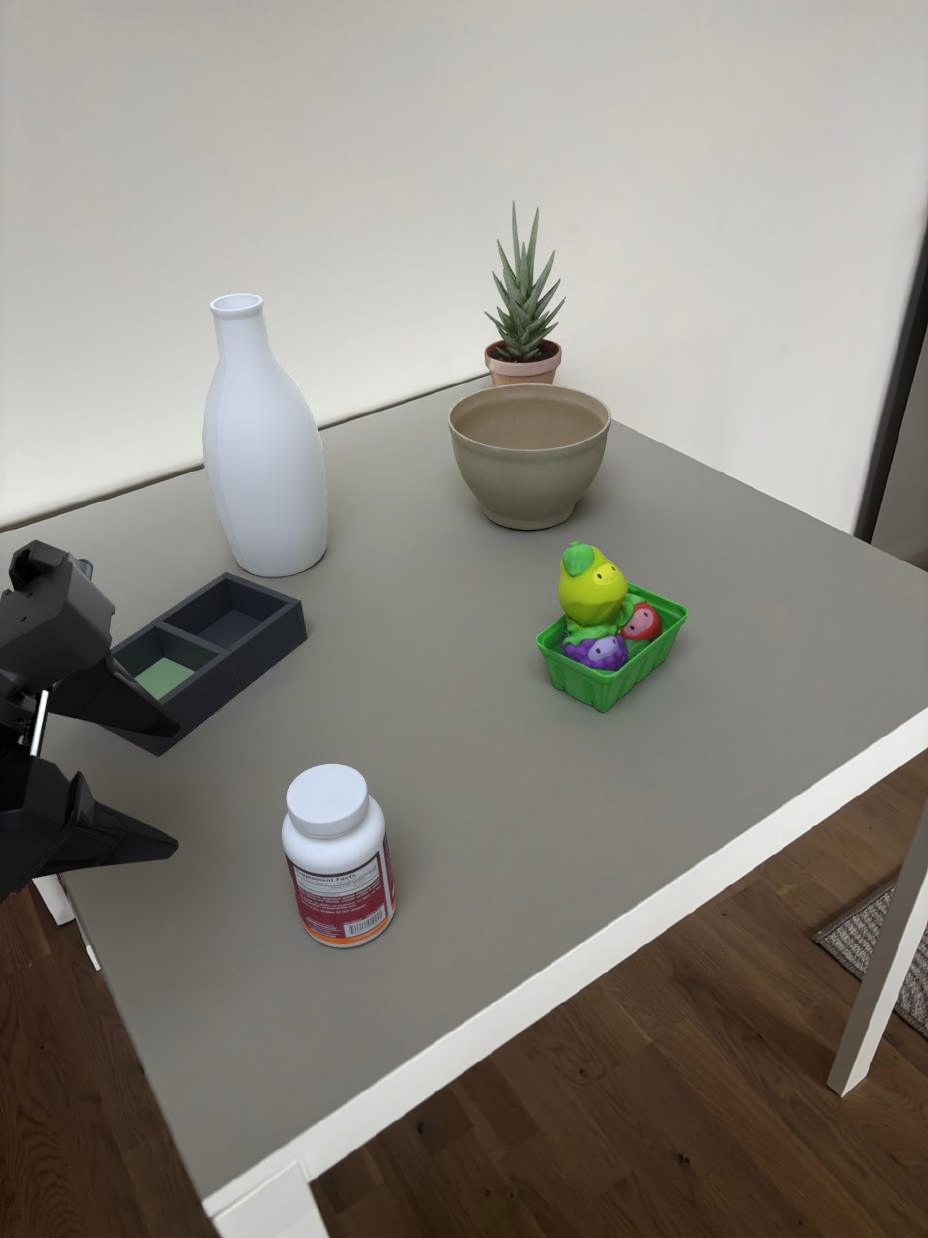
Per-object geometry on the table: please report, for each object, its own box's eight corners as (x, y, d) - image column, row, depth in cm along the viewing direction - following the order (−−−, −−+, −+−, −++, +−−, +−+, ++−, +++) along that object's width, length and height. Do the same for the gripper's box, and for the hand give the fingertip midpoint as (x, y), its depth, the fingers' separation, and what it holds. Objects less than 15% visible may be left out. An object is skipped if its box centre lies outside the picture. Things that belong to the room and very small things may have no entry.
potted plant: (531, 383, 129) (532, 185, 115) (575, 407, 123) (581, 200, 108) (468, 402, 125) (460, 199, 111) (510, 428, 119) (507, 216, 104)
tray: (158, 757, 74) (146, 717, 72) (82, 716, 79) (67, 677, 76) (308, 638, 86) (301, 600, 83) (233, 608, 90) (225, 571, 88)
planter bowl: (624, 539, 97) (631, 439, 91) (465, 558, 95) (460, 458, 89) (584, 466, 110) (587, 374, 103) (443, 481, 108) (437, 389, 102)
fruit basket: (606, 730, 75) (614, 611, 68) (519, 682, 80) (518, 567, 73) (687, 659, 81) (701, 544, 75) (601, 618, 86) (608, 508, 80)
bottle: (348, 570, 94) (314, 311, 79) (234, 595, 92) (176, 332, 77) (323, 516, 103) (288, 273, 88) (218, 538, 100) (163, 291, 85)
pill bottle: (325, 862, 66) (303, 743, 59) (411, 884, 64) (397, 764, 57) (283, 938, 61) (253, 818, 54) (373, 963, 59) (354, 843, 53)
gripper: (-79, 671, 35) (275, 821, 43) (3, 448, 50) (255, 591, 58) (-216, 858, 38) (136, 964, 47) (-102, 598, 53) (150, 713, 61)
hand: (176, 786), depth 53 cm, fingers open, 9 cm apart
